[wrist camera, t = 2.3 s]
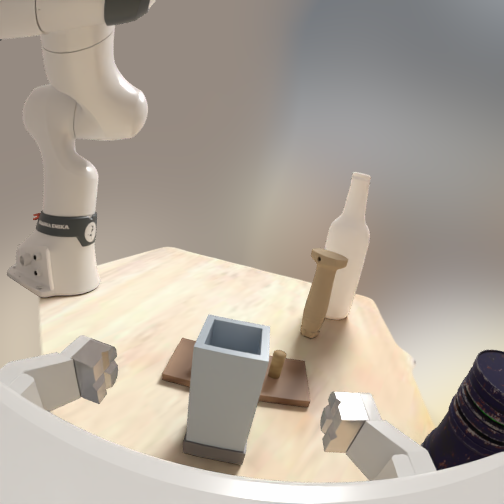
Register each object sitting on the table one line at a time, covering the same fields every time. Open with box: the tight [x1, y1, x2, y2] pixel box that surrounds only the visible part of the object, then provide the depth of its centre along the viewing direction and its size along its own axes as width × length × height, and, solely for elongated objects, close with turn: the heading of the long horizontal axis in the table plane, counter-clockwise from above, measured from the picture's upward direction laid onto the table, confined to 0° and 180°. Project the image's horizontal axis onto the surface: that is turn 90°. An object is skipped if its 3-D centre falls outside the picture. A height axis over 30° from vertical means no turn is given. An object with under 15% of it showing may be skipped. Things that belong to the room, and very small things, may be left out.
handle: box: [301, 248, 348, 338], centre depth 49 cm, size 5×6×15 cm
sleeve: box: [183, 315, 270, 465], centre depth 23 cm, size 6×6×13 cm
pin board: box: [162, 338, 310, 407], centre depth 36 cm, size 18×9×4 cm, turn 86°
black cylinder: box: [421, 350, 504, 471], centre depth 17 cm, size 10×10×15 cm
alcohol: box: [325, 172, 371, 320], centre depth 59 cm, size 9×9×30 cm
